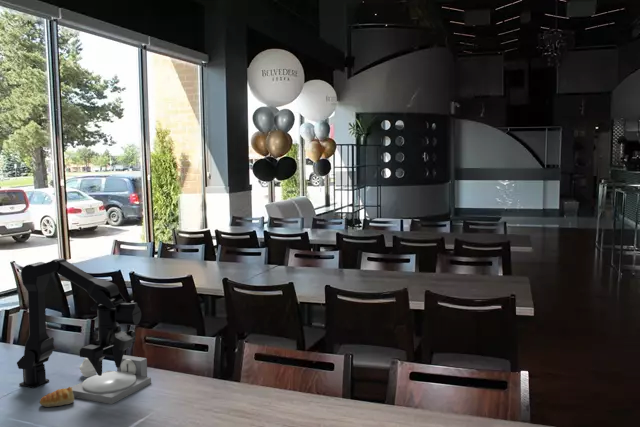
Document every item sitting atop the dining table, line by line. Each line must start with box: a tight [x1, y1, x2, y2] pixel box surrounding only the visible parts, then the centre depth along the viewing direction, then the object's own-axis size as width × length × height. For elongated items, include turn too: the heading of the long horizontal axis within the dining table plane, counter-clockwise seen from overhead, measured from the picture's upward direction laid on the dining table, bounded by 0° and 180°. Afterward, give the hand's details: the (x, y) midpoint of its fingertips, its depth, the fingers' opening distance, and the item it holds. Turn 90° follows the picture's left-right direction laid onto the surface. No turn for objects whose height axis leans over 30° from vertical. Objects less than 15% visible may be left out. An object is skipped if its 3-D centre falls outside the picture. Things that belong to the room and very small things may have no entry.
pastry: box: [39, 386, 75, 408], centre depth 170 cm, size 9×7×4 cm
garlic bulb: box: [79, 358, 97, 378], centre depth 193 cm, size 6×6×7 cm
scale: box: [71, 354, 152, 405], centre depth 183 cm, size 18×21×7 cm
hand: (109, 371), depth 181 cm, fingers open, 8 cm apart
